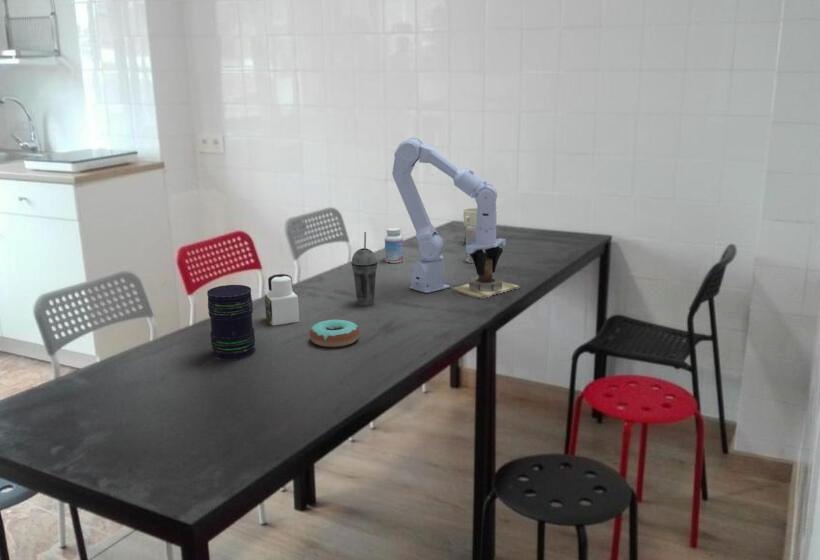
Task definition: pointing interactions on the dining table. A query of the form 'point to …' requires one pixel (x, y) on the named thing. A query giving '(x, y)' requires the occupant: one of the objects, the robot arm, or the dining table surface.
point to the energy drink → (470, 240)
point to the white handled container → (281, 301)
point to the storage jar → (231, 322)
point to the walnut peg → (487, 270)
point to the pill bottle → (393, 246)
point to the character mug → (469, 217)
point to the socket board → (483, 294)
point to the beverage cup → (364, 274)
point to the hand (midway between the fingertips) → (485, 273)
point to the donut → (334, 333)
